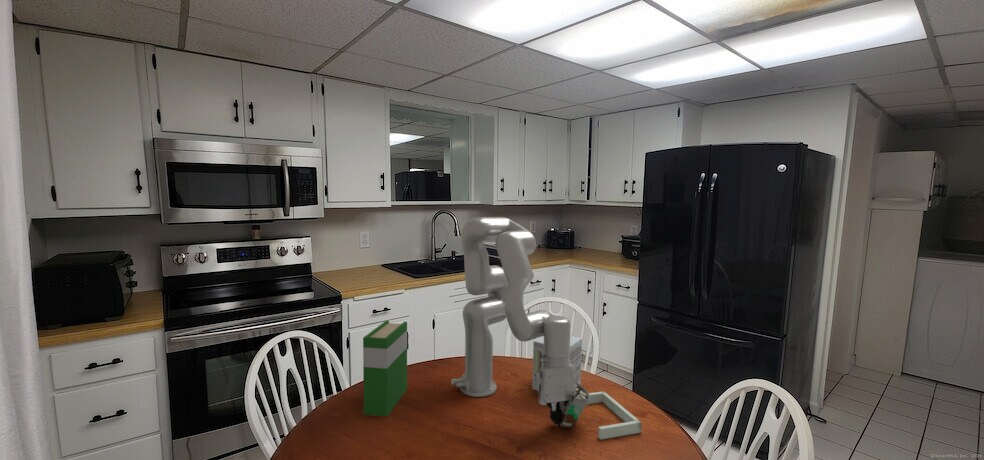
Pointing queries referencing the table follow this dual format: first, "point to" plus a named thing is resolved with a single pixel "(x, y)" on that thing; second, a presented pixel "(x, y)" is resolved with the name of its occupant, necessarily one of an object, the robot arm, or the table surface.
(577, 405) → the food container
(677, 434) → the table surface
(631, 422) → the bay
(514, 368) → the table surface
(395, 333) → the hardback book
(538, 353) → the supplement box
